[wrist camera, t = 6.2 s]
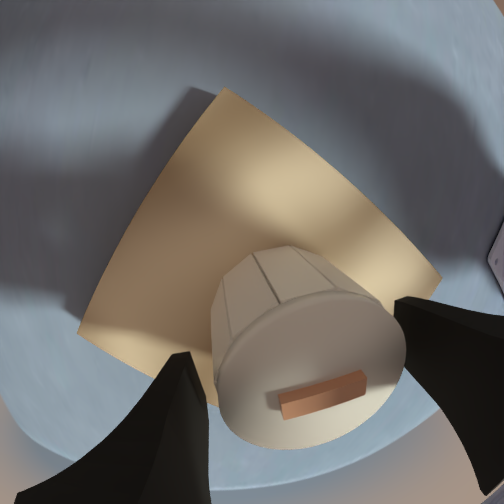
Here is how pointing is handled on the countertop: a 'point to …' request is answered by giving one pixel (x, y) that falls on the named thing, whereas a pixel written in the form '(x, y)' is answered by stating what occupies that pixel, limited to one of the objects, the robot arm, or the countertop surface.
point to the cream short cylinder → (300, 350)
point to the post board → (236, 237)
